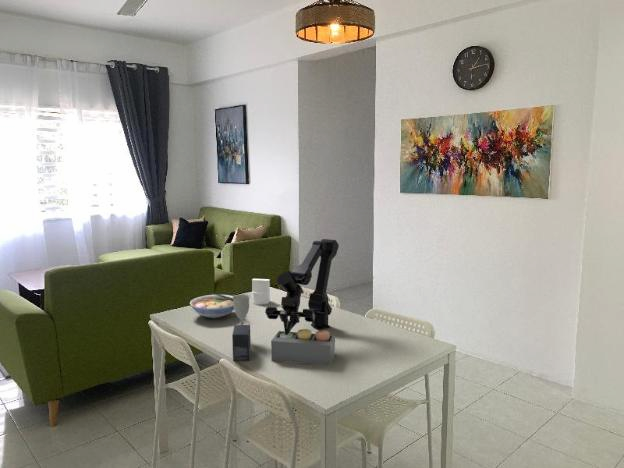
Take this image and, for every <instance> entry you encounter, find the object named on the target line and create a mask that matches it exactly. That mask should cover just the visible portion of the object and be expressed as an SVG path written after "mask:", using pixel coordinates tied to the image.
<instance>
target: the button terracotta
mask: <svg viewBox="0 0 624 468" xmlns="http://www.w3.org/2000/svg"><path fill="white" fill-rule="evenodd" d="M315 334H316V341H327V342H329V341H330V335H331V332H330V331H328V330H322V329H320V330H317V331H316V332H315Z"/></svg>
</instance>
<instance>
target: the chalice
mask: <svg viewBox="0 0 624 468" xmlns="http://www.w3.org/2000/svg"><path fill="white" fill-rule="evenodd" d="M232 296H233V297H232V298H233V299H234V310H233V311H234V313H235V314H236V316H237V318H238V319H239V320H240V321H239V325H245V324H244V319H246V317H247V315H248V313H249V310H250V298H251V295H249V294H245V293H244V294H235V295H232Z"/></svg>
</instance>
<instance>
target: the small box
mask: <svg viewBox="0 0 624 468" xmlns="http://www.w3.org/2000/svg"><path fill="white" fill-rule="evenodd" d="M231 338H232V339H231V340H232V341H231V342H232V343H231V344H232V362H248V361H251V354H252V343H251V342H252V341H251V340H252V339H251V324H243V325H241V324H234V326H233V330H232V337H231Z"/></svg>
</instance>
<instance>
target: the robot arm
mask: <svg viewBox="0 0 624 468" xmlns="http://www.w3.org/2000/svg"><path fill="white" fill-rule="evenodd" d="M337 241H338V240H336V239H330V238H329V239H328V238H322V239H320V240H314V241H313V242H312V245H311V247H310V249H309V251H308V253H307V254H306V256H305V257H304V259H303V261H302V262H301V264H299V265H298V266H295V268H294V269H293V270H292V271H291V270H288V269H287V270H285V272H283V273H281V274H279V276H278V277H277V278H276V279H277V280H276V281H277V284H278V285H279V286H280V287H281V289H282V290H283V291H284V292H286V296H281V302H280V303H281V304H280V305H281V308H282V309H280V310H279V309H278V308H277V306H267V307H266V308H265V311H264V313H265V314H266V317H267V318H268V319H269V320H276V319H278V318H280V321H281V322H282V323H283V327H284V331H285V334H286V335H288V334H289V332H292V330H293V327H295V326H296V325H297V324H298V323H300V318H304V320H305V321H306V322H308V323H309V322H310V323H311V324H310V326H312V327H314V329H317V330H322V329H328V328H331V325H329V316H330V315H331V314H332V310H333V308H332V305H330V303H329V298H330V297H329V296H328V293H327V290H328V284H329V277H330V272H331V267H332V261H333V259H334V258H335V257H336V256H337V253H338V250H339V243H338V242H337ZM319 258H320V261H319V266H318V274H317V278H316V284H315V289H314V290H313V292H310V294H309V298H308V299H309V300H308V302H307V305H308V308H303V309H302V311H299V310H300V309H299V308H300V305H301V298H302V294H304V290H303V287H302V286H309V283H310V282H311V280H312V276H313V274H312V273H313V272H312V271H313V269H314V268H315V265H316V264H317V262H318V260H319Z"/></svg>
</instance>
